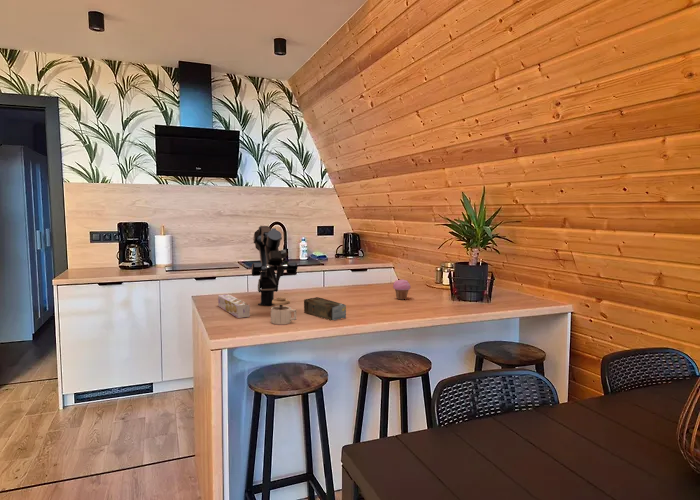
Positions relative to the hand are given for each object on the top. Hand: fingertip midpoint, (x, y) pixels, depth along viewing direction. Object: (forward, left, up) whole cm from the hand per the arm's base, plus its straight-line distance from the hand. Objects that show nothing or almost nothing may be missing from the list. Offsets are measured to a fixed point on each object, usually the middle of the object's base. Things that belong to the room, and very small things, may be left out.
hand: (277, 285), depth 186 cm
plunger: (+7, +5, -11) cm, 14 cm away
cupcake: (-58, +39, -14) cm, 72 cm away
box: (-2, -22, -14) cm, 26 cm away
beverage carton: (-11, +17, -14) cm, 24 cm away
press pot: (+7, +6, -13) cm, 16 cm away
